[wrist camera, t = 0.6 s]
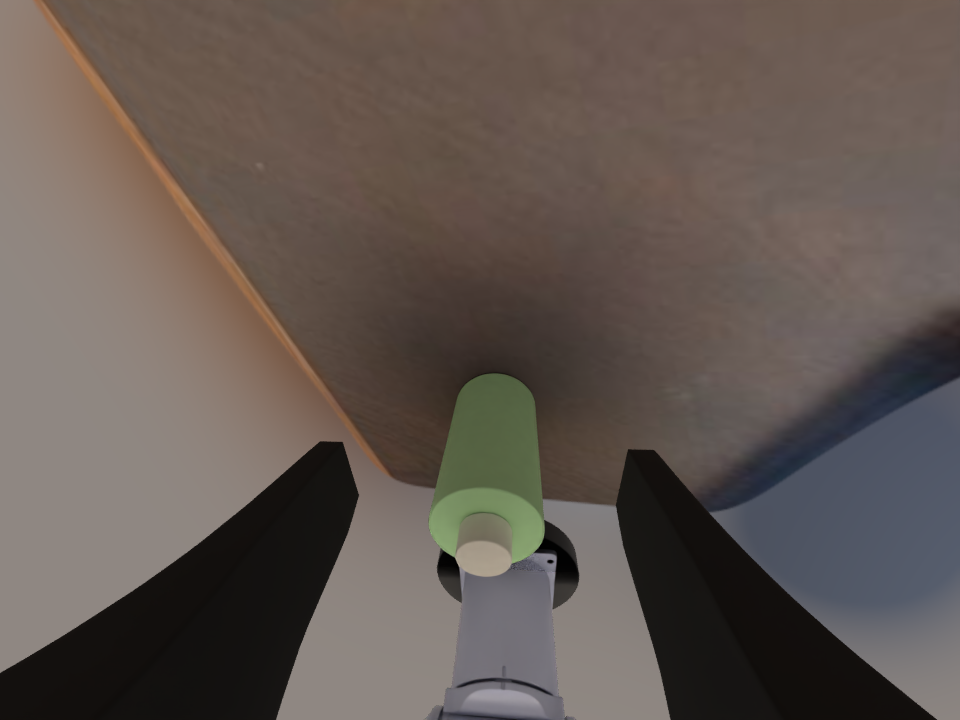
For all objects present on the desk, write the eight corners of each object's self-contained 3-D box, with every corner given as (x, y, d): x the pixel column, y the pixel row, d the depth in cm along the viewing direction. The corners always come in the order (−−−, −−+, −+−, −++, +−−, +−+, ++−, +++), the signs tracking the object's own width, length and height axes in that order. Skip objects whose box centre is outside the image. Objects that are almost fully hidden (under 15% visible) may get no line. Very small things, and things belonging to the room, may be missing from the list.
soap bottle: (534, 438, 22) (544, 600, 14) (459, 436, 23) (427, 593, 15) (536, 373, 20) (550, 519, 12) (453, 372, 21) (413, 514, 12)
